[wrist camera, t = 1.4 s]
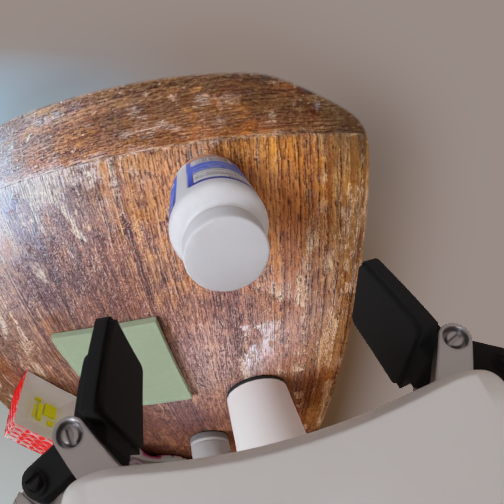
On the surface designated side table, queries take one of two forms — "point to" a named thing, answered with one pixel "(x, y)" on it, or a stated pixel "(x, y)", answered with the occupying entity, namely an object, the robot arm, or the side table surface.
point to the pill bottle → (218, 224)
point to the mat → (147, 351)
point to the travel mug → (209, 444)
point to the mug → (262, 412)
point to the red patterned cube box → (37, 412)
